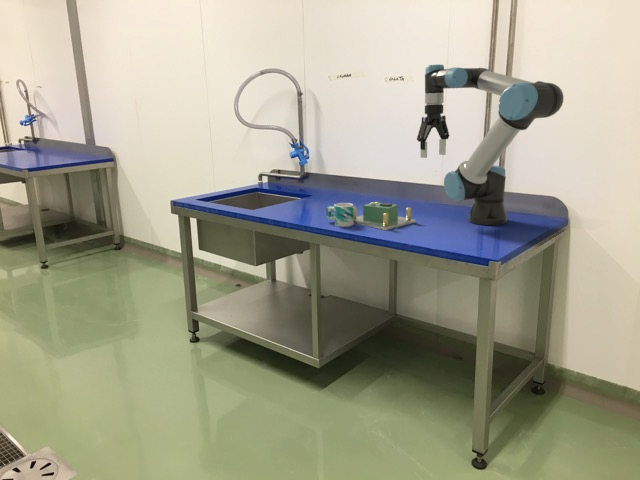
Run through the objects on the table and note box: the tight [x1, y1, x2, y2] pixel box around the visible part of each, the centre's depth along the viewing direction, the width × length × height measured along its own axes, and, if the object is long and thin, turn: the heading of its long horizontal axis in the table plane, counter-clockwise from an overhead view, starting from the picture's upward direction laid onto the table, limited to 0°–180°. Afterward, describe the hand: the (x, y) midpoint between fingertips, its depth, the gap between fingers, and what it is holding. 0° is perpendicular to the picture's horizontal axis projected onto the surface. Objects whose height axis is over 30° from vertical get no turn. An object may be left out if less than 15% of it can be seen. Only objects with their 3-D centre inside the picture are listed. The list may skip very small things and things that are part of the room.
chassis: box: [353, 201, 416, 231], centre depth 223 cm, size 22×18×6 cm
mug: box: [325, 202, 355, 228], centre depth 222 cm, size 8×12×8 cm
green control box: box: [362, 201, 399, 223], centre depth 223 cm, size 12×8×7 cm, turn 54°
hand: (433, 156), depth 225 cm, fingers open, 13 cm apart
